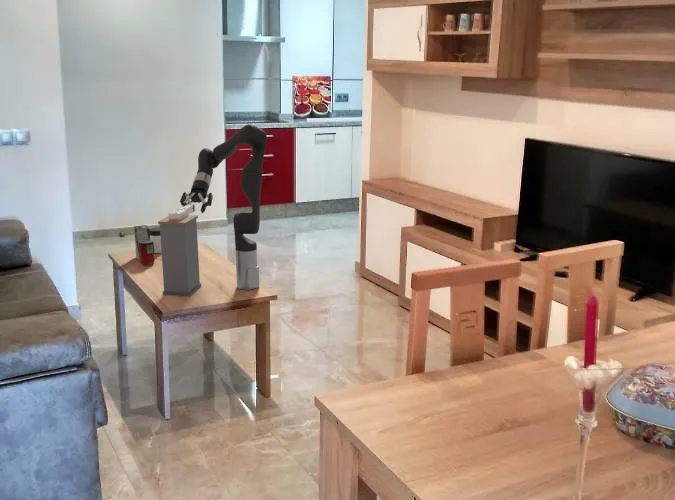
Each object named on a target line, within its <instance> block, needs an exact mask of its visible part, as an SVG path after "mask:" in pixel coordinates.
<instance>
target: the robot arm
mask: <svg viewBox="0 0 675 500" xmlns="http://www.w3.org/2000/svg"><path fill="white" fill-rule="evenodd" d="M267 141H268V137H267V132H266V131H265V130H264V129H262V128H260V127H258V126H256V125H255V124H251V123H248V124H245V125H244V126H242V127H241V128H240V129H238V131H237V132H235V133H234V134H233V135H232V136H231V137H229V138H228V139H227V140H226V141H224V142H222V143H220V144H218V145H216V146H215V147H213V149H212V150H211V149H210V148H209V147H204V148H202V149H201V150H200V151H199V152H198V153H199V154H198V157H197V164H198V165H197V166H198V167H197V172H196V175H195V176H194V179H193V181H192V185H191V188H190V191H189V193H187V192H186V191H184V192H183V193H182V195H181V197H180V199H179V202H180V205H181V206H182V207H184V206H185V205H187V204H193V203H199V204H200V203H201V207H200V213H201V214H204V213H205V212H206V208H207V207H211V206H212V204H213V203H212V202H213V198H214V195H213V193H212V192H209V189H210V185H211V183H212V176H213V174H214V169H217V168H218V167H219V165H220V164H221V163H222V162H223V161H224V160H226V159H227V158H229V157H231V156H233V155H234V154H235V153H236V151H237V147H238V146H239V145H240V144H245V145H247V146H248V147H251V149H252V155H251V158H250V160H249V161H248V162H247V163H246V164H245V165H244V166H243V168H242V170H241V172H240V173H241V174H240V187H241V190H242V192H243V194H244V195H245V197H246V198H247V200H248V202H249V204H250V206H251V210H252V211H251V212H236V213H235V214H234V216H233V232H234V245H235V248H234V249H235V272H236V276H235V277H236V288H237V289H239V290H245V291H246V290H247V291H251V290H254V289H257V288H260V267H259V266H258V243H257V242H256V241H255V240H252V239H251V238H248V237H246V236H245V235H257V234H258V233H259V230H260V222H261V221H260V220H261V219H260V218H261V192H262V184H263V167H264V158H265V157H264V156H265V153H266V152H265V151H266V147H267V146H266V145H267ZM208 192H209V193H208ZM206 199H207V201H205V200H206Z"/></svg>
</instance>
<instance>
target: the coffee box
mask: <svg viewBox="0 0 675 500" xmlns="http://www.w3.org/2000/svg"><path fill="white" fill-rule="evenodd" d="M150 229H151V228H149V226H147V225H145V224H144V225H143V224H141V225H136V226H135V225H134V226H133V231H134V242H135V243H134V244H135V254H136V255H135V256H136V259H137V260H138V261H139V262H140V254H139V241H140V240H142V239H150Z"/></svg>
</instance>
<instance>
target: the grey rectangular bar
mask: <svg viewBox="0 0 675 500" xmlns="http://www.w3.org/2000/svg"><path fill="white" fill-rule="evenodd" d="M194 212H196V209H195V204H193V203H192V204H187V205H185V206H184V207H183V206H182V207H180V208H175V209H174V210H171V211H170V212H168V213H167V214H168V216H169V220H171V221H181V220H183V219H184V218H186V217H188V215H191V214H192V213H194Z"/></svg>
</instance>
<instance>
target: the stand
mask: <svg viewBox="0 0 675 500" xmlns="http://www.w3.org/2000/svg"><path fill="white" fill-rule="evenodd" d="M198 218H199V215H195V214H194V215H191V214H189V215H188V217H186V218H184V219H183V220H181V221H171V220H169V216H165V217H164V218H162V219H160V220H158V221H157V224H158V225H159V227H160V236H161V251H162V254H161V263H162V278H163V290H162V295H163V296H174V297H191V296H192V295H193V294H194V293H196V292H197V291H198V290H199V289H200V288H201V287H202V283H201V281H200V264H199V263H200V262H199V243H198V228H197V224H198V223H197V219H198Z"/></svg>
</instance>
